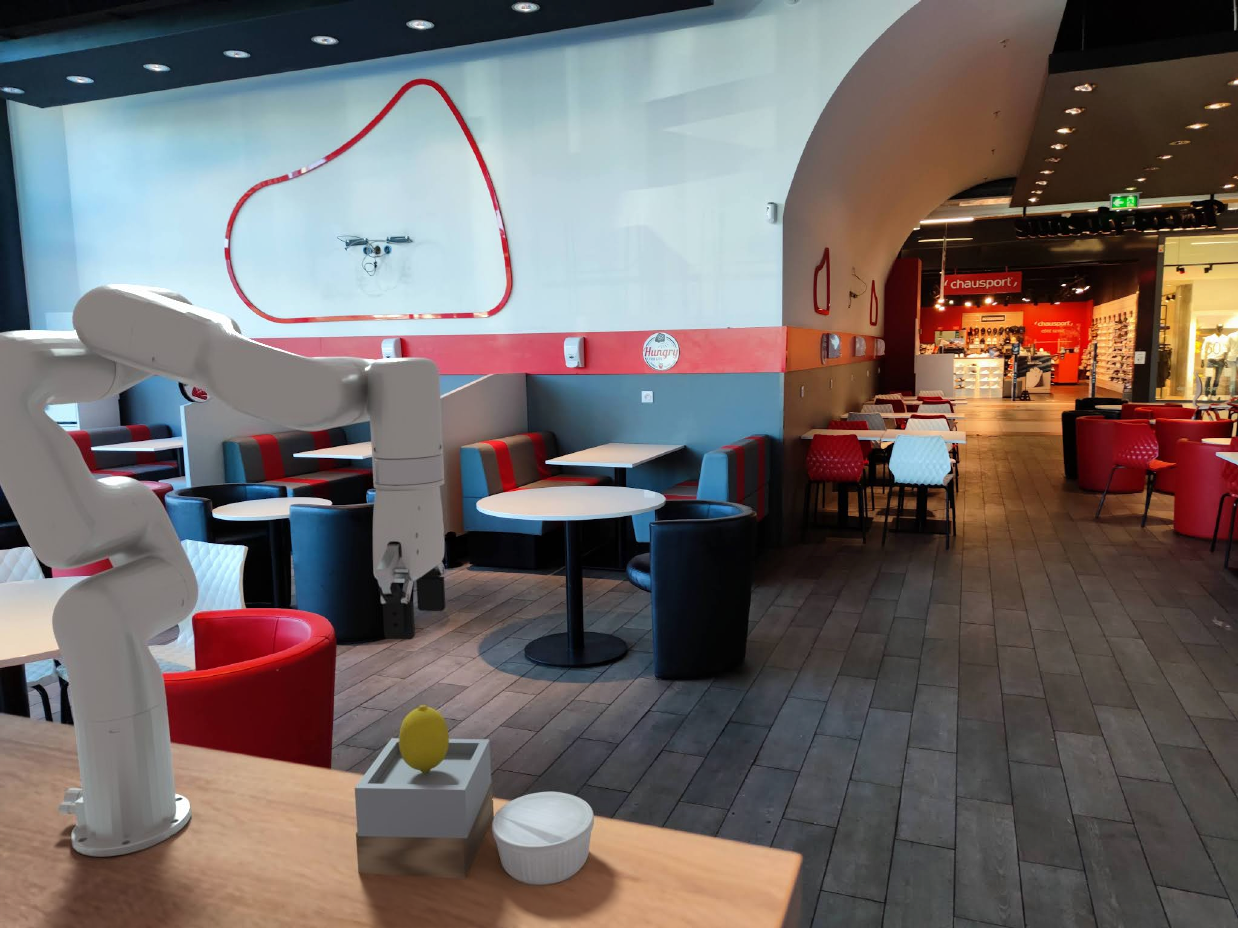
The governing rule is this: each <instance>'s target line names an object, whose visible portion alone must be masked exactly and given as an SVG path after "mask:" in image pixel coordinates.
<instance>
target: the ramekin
mask: <svg viewBox="0 0 1238 928" xmlns="http://www.w3.org/2000/svg"><path fill="white" fill-rule="evenodd" d="M497 810H498V811H496V812H495V814H494V818H493V821H492V823H491V831H492V832H491V834H492V836H493V838H494V841H495V842H496V847H497V851H498V855H499V858H500V862H501V866H502V868H503V869H504V871H505V872H506V873H507V874H508V875H509V876H511V877H512V878H513V879H515V880H517V881H518V882H521V883H525V884H529V885H538V886H540V885H552V884H556V883H559V882H562V881H565V880H568V879H569V878H571V877H573V876H574V875H575V874H577V873H578V872H579V871H580V870H581V868H582V867H583V866H584V865H585V863H586V861H587V859H588V856H589V853H590V843H591V837H592V836H591V835H592V830H593V827H594V824H595V815H594V811H593V808H592V807H591V806H590V804H589V803H588V802H587V801H586V800H584V799H582V798H581V797H578V796H576V795H573V794H570V793H564V792H562V791H561V792H560V791H542V792H540V791H539V792H535V793H529V794H525V795H523V796H519V797H516V798H515V799H512V800H511V801H509V802H508V803H505V804H504V805H503V806H502V807H500V808H499V809H497Z"/></svg>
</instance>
